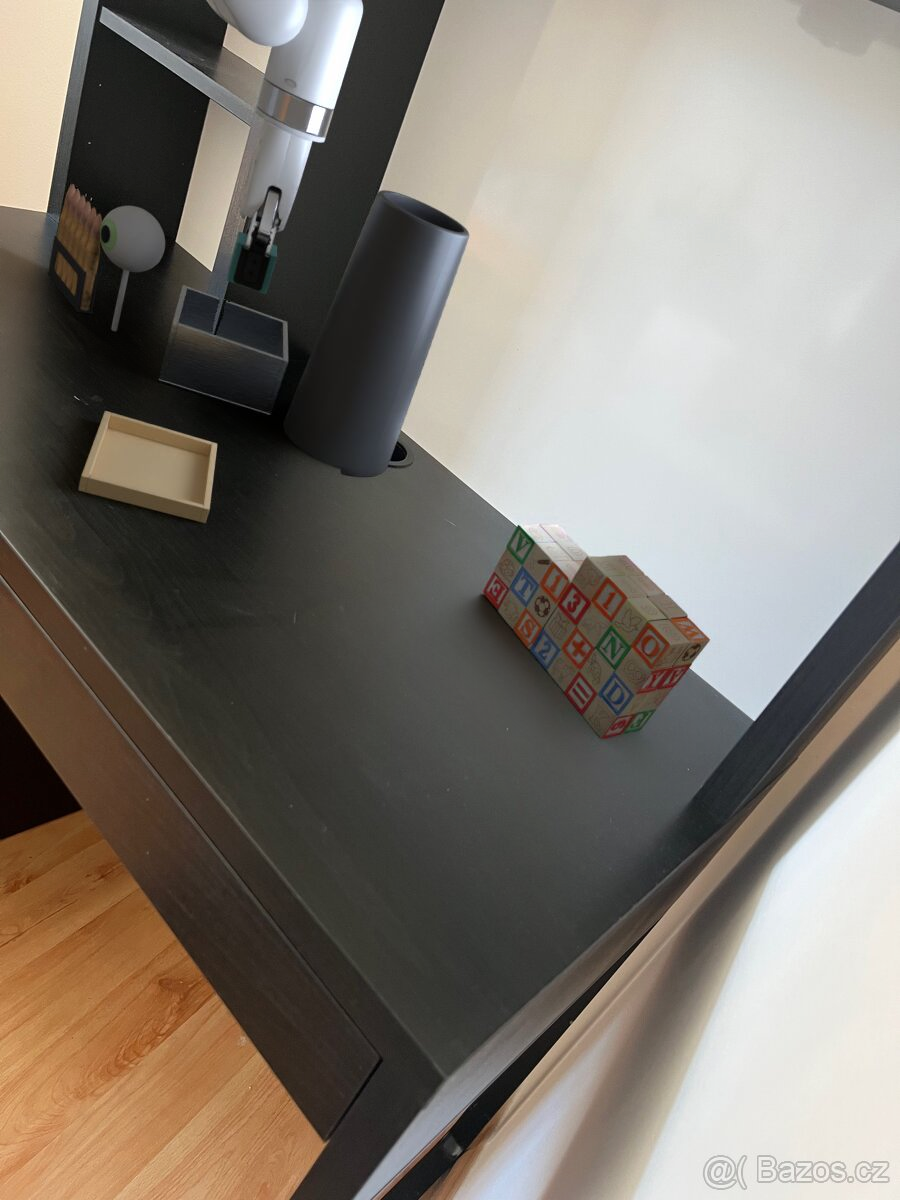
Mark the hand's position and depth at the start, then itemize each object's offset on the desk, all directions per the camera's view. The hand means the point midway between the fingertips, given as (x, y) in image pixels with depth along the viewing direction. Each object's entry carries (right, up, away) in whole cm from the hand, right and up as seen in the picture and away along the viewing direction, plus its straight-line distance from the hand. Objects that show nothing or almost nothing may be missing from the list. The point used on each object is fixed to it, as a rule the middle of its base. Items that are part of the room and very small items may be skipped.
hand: (248, 277), depth 98 cm
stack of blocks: (+34, -44, -11) cm, 57 cm away
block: (0, 0, 0) cm, 1 cm away
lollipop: (-18, -4, +6) cm, 20 cm away
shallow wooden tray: (-6, -25, -16) cm, 31 cm away
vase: (+9, -19, +6) cm, 22 cm away
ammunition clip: (-25, +1, +9) cm, 27 cm away
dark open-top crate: (-5, -10, +7) cm, 14 cm away
